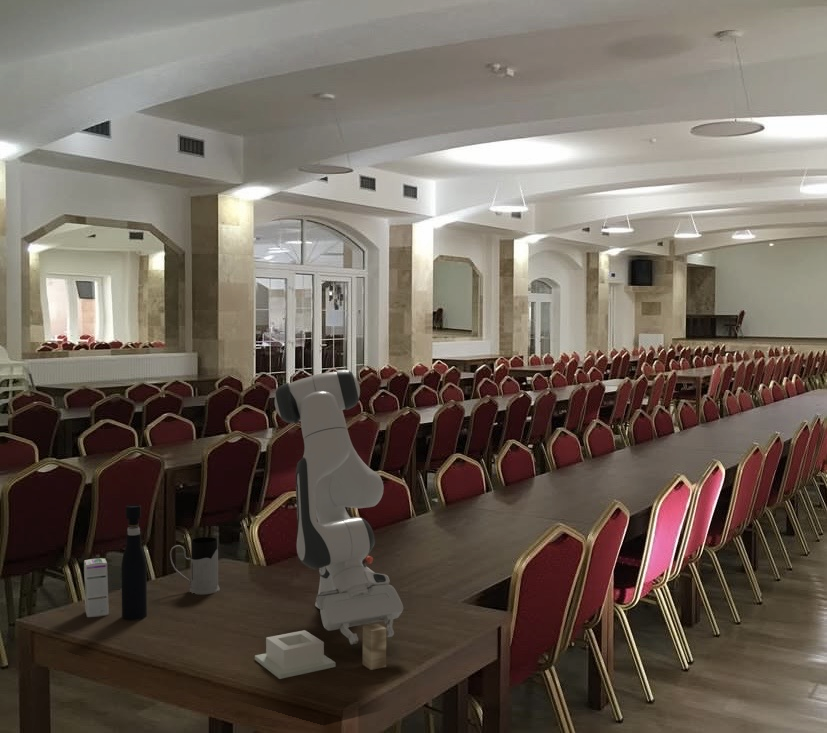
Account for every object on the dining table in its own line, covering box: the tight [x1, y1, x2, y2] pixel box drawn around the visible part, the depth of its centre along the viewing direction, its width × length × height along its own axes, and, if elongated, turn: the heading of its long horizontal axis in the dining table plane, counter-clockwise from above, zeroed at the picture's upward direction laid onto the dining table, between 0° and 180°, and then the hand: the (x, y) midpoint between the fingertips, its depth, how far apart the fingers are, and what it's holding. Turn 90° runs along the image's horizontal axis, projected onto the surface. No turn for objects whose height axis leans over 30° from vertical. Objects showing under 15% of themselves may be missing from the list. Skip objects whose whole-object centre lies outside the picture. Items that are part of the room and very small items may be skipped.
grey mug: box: [169, 536, 220, 595], centre depth 274 cm, size 9×14×15 cm, turn 102°
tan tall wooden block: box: [362, 622, 387, 671], centre depth 215 cm, size 4×4×9 cm
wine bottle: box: [121, 504, 148, 621], centre depth 249 cm, size 6×6×30 cm
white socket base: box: [254, 629, 337, 680], centre depth 216 cm, size 14×14×6 cm
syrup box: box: [83, 557, 110, 618], centre depth 252 cm, size 6×6×14 cm
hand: (372, 639), depth 214 cm, fingers open, 8 cm apart
